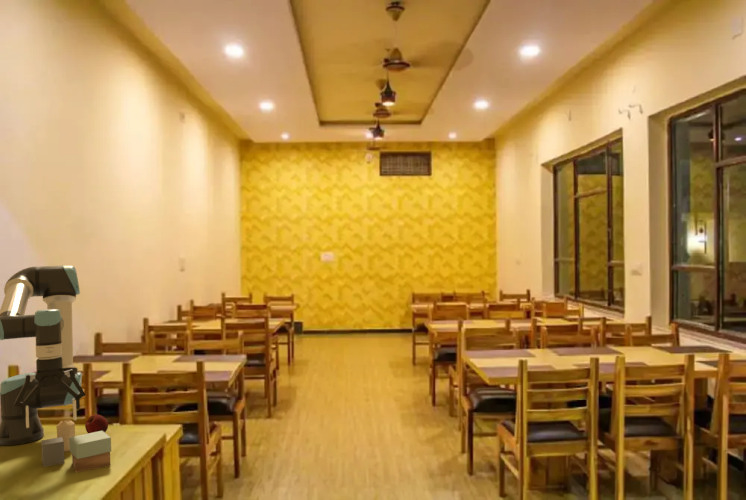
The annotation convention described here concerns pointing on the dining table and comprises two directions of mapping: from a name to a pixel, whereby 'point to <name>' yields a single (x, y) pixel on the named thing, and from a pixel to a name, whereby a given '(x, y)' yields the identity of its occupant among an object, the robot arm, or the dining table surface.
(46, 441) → the block
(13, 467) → the dining table surface
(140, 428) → the dining table surface
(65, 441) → the beige bottle
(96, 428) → the apple
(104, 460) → the tower base
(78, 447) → the tower top
